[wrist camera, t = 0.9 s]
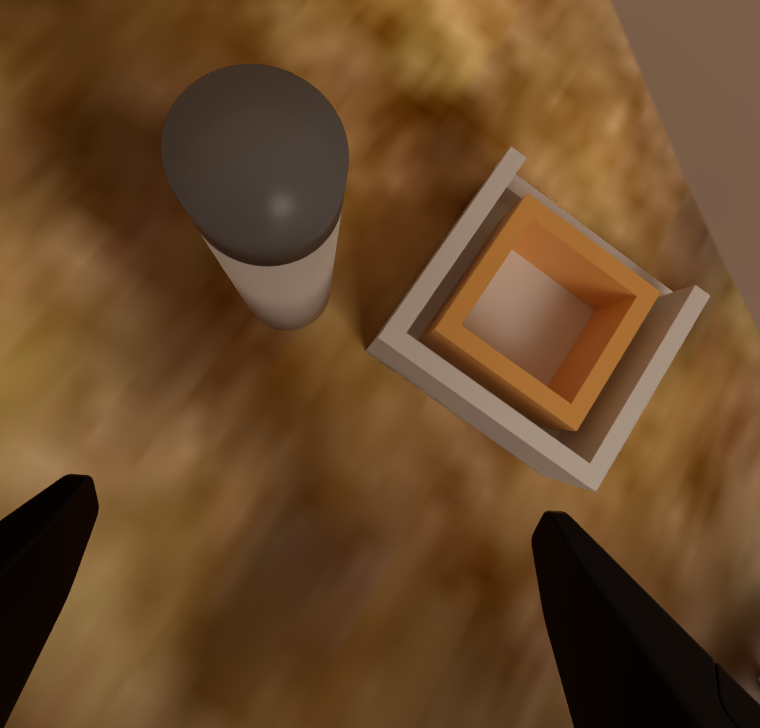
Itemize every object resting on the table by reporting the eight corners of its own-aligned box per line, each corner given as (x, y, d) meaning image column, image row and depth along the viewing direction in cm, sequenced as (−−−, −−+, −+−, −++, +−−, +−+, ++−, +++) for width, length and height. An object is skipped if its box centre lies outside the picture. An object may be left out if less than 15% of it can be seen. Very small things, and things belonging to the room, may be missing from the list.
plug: (297, 347, 23) (278, 276, 11) (225, 296, 23) (120, 165, 10) (346, 279, 23) (383, 137, 11) (277, 229, 23) (236, 29, 11)
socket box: (543, 476, 24) (595, 492, 19) (365, 350, 23) (377, 337, 19) (648, 302, 25) (718, 281, 21) (484, 181, 25) (521, 132, 20)
